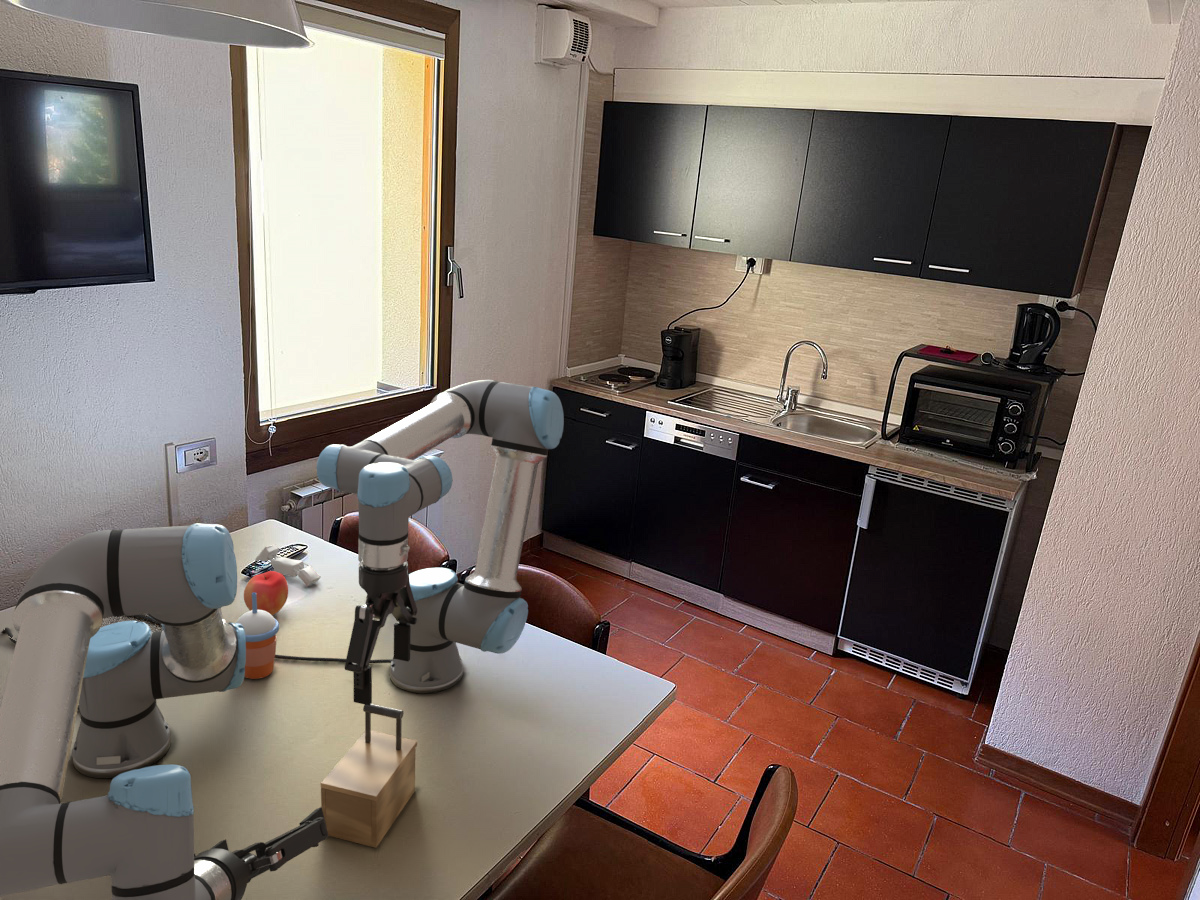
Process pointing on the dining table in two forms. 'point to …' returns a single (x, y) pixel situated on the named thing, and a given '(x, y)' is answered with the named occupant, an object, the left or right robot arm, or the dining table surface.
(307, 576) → the white long bent piece
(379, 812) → the chest
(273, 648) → the cup with straw
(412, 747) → the lid
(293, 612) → the dining table surface
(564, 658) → the dining table surface
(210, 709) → the dining table surface
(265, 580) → the apple
